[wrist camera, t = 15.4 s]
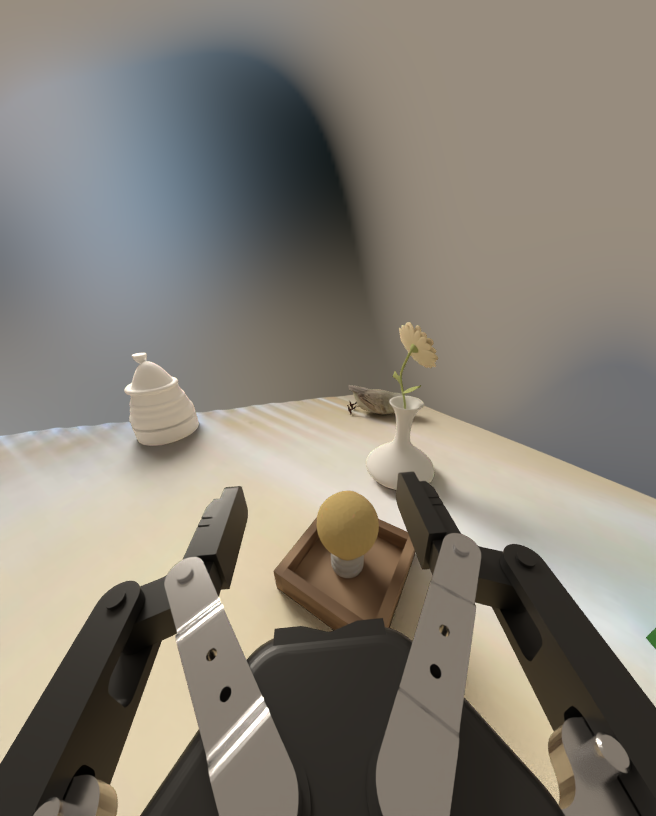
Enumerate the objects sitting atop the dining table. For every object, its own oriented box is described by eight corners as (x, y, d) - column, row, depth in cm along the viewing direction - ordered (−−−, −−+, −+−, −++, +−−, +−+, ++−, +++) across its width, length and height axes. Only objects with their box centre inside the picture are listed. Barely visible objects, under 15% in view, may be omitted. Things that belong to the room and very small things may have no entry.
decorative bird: (412, 422, 61) (416, 393, 58) (345, 417, 65) (345, 389, 61) (411, 412, 66) (414, 384, 63) (348, 407, 69) (349, 381, 66)
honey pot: (127, 435, 60) (93, 359, 52) (181, 413, 69) (159, 346, 61) (154, 452, 53) (120, 368, 45) (210, 425, 63) (190, 352, 55)
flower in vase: (442, 499, 40) (479, 332, 29) (367, 496, 41) (375, 334, 30) (421, 449, 51) (442, 317, 40) (363, 448, 52) (368, 318, 41)
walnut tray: (377, 662, 23) (379, 645, 22) (276, 587, 29) (273, 571, 28) (415, 553, 32) (418, 536, 31) (332, 513, 38) (332, 497, 37)
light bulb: (351, 531, 34) (352, 471, 29) (387, 572, 29) (394, 507, 25) (309, 558, 31) (303, 495, 26) (341, 608, 26) (340, 542, 22)
